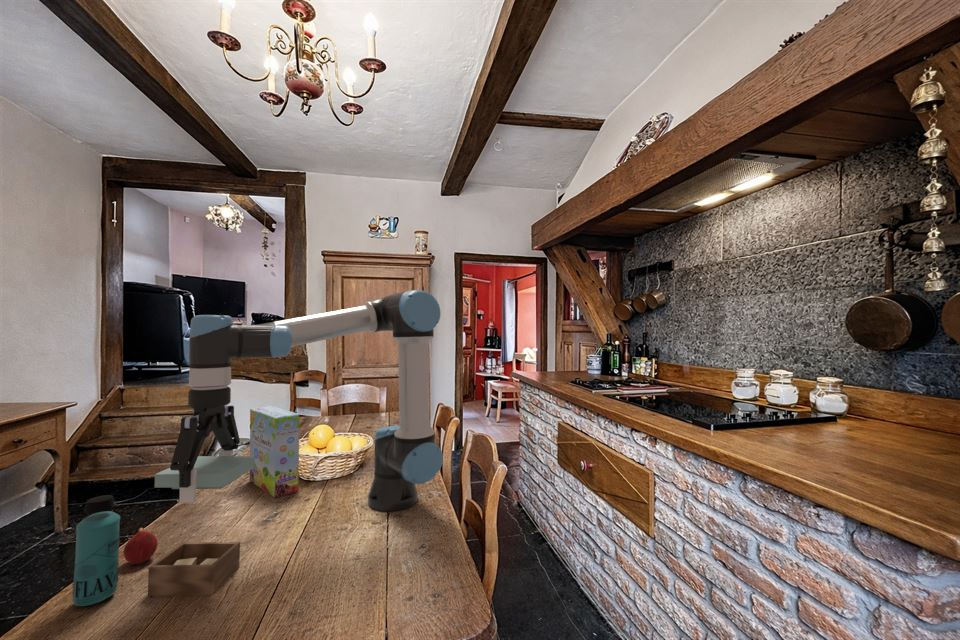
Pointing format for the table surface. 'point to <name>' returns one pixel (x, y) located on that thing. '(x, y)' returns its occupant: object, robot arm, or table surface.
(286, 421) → the snack box
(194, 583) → the box
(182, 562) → the block
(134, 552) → the onion
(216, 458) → the lid
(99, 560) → the beverage bottle
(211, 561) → the block
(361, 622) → the table surface
